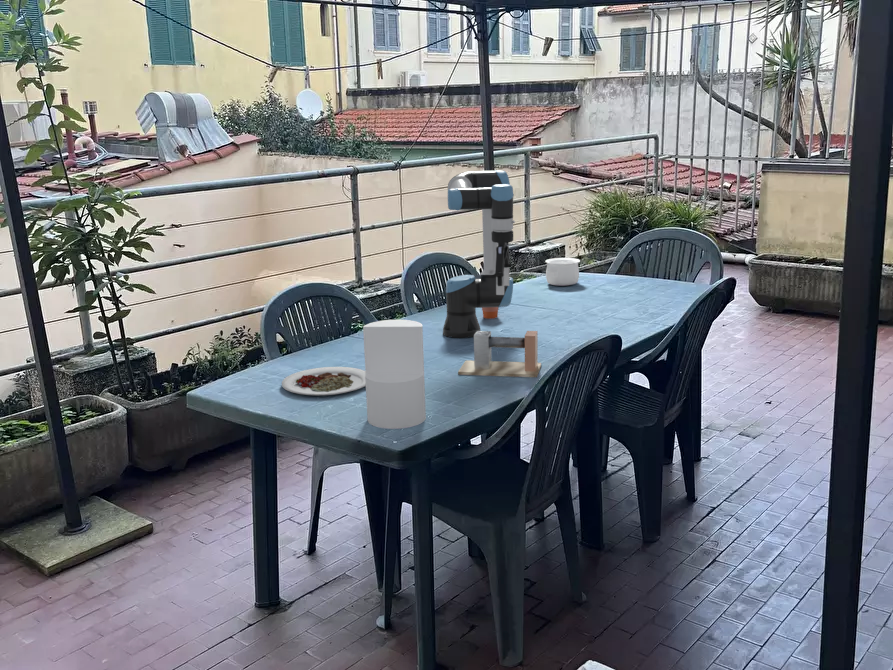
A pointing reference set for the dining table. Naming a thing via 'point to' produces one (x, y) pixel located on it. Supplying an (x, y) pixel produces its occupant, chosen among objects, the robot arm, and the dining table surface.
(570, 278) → the pot
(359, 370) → the plated food
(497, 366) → the base board
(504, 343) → the rod
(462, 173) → the robot arm
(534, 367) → the tan upright block
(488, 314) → the cup with straw
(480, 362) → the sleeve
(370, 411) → the cylinder
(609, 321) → the dining table surface
